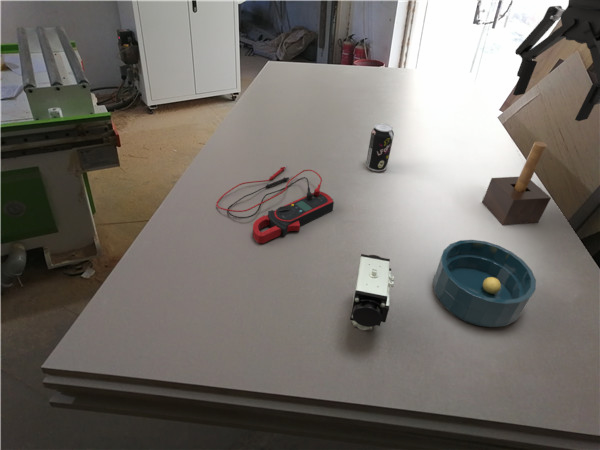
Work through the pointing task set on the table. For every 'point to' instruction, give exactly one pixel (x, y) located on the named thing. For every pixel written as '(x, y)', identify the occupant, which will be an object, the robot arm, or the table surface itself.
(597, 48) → the robot arm
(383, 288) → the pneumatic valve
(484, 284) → the bead
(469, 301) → the bowl
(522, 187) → the stirring stick
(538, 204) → the holder
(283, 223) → the digital clamp meter
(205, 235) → the table surface
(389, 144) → the beverage can
